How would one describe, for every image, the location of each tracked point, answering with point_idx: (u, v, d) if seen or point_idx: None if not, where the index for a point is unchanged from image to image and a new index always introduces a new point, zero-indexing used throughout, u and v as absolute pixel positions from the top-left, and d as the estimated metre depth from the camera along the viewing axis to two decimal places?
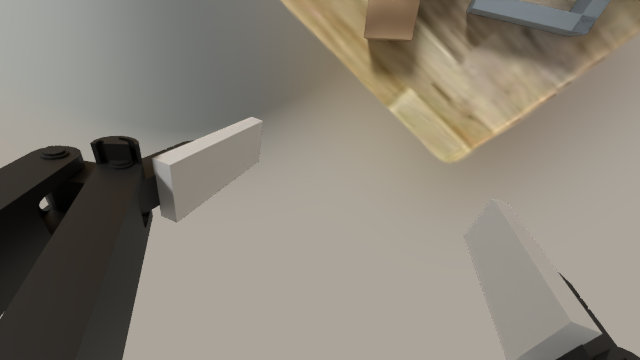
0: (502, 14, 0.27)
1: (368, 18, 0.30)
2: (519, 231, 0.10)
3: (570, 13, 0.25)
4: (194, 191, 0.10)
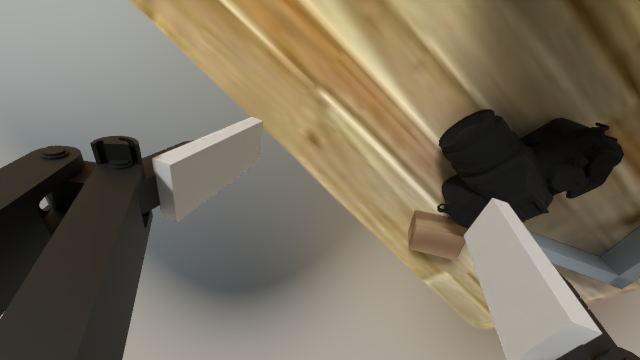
0: None
1: (415, 238, 0.31)
2: (519, 231, 0.10)
3: (608, 272, 0.27)
4: (194, 191, 0.10)
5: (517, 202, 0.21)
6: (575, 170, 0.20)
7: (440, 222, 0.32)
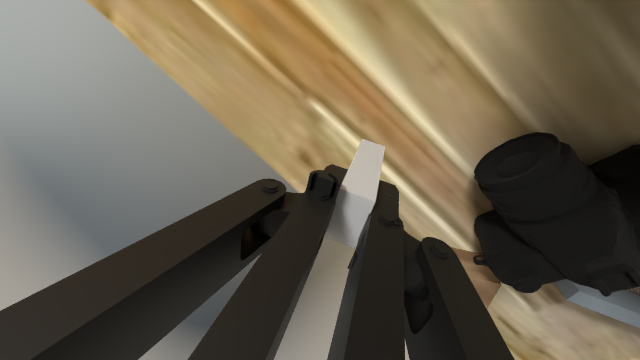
0: (604, 314, 0.22)
1: None
2: (374, 159, 0.13)
3: None
4: None
5: (598, 270, 0.15)
6: None
7: (464, 261, 0.25)
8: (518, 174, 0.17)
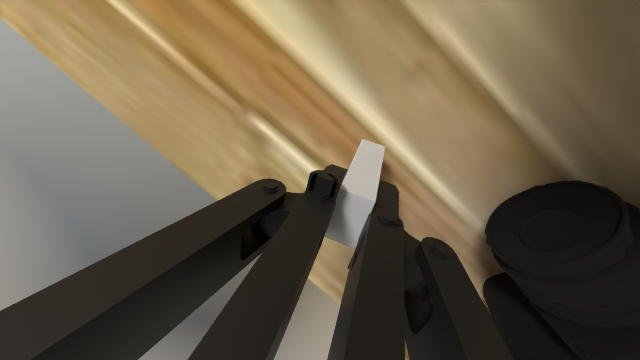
0: None
1: None
2: (374, 159, 0.13)
3: None
4: None
5: None
6: None
7: None
8: (556, 250, 0.11)
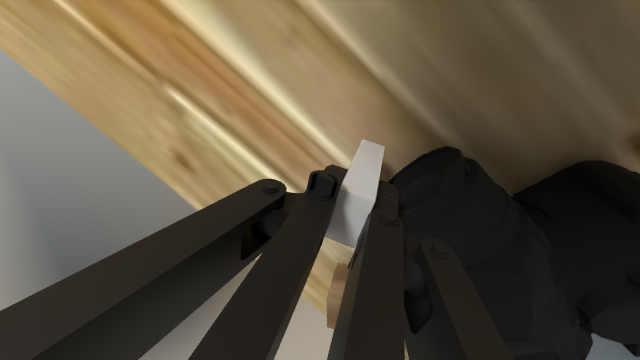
0: None
1: (330, 313, 0.20)
2: (373, 159, 0.13)
3: None
4: None
5: (513, 356, 0.10)
6: None
7: None
8: (416, 206, 0.12)
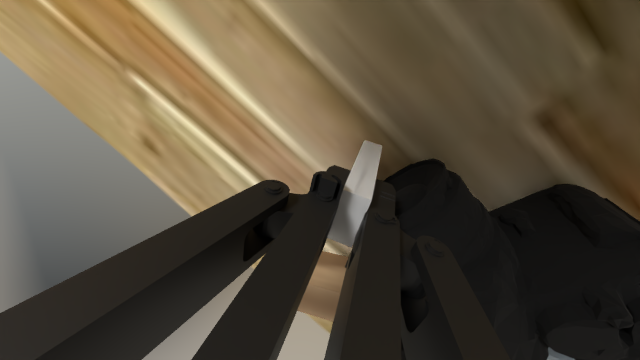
0: None
1: None
2: (371, 158, 0.13)
3: None
4: None
5: None
6: (599, 330, 0.09)
7: (319, 265, 0.21)
8: (397, 214, 0.13)
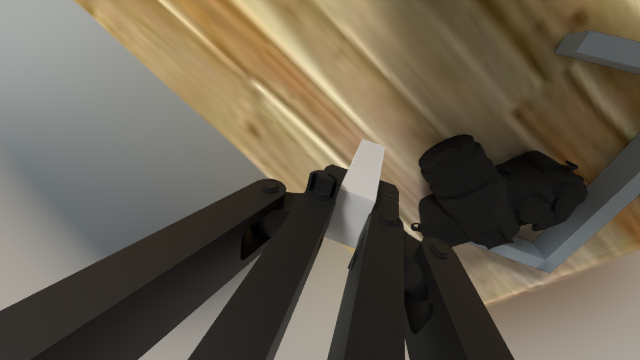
0: (474, 244, 0.29)
1: None
2: (374, 159, 0.13)
3: (534, 257, 0.27)
4: None
5: (485, 230, 0.22)
6: (542, 205, 0.20)
7: None
8: (445, 162, 0.24)
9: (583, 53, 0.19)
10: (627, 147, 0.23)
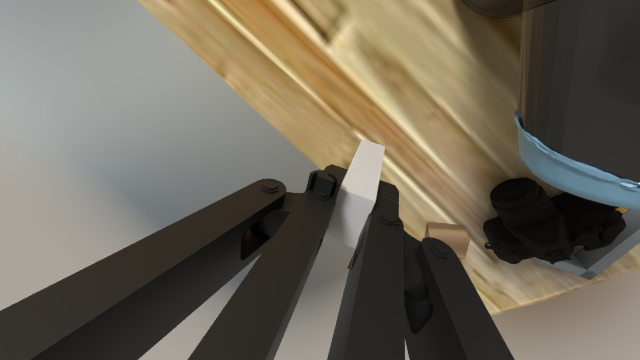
0: None
1: None
2: (374, 159, 0.13)
3: (578, 267, 0.36)
4: None
5: (550, 251, 0.31)
6: (592, 234, 0.29)
7: (448, 229, 0.41)
8: (515, 200, 0.33)
9: None
10: None
